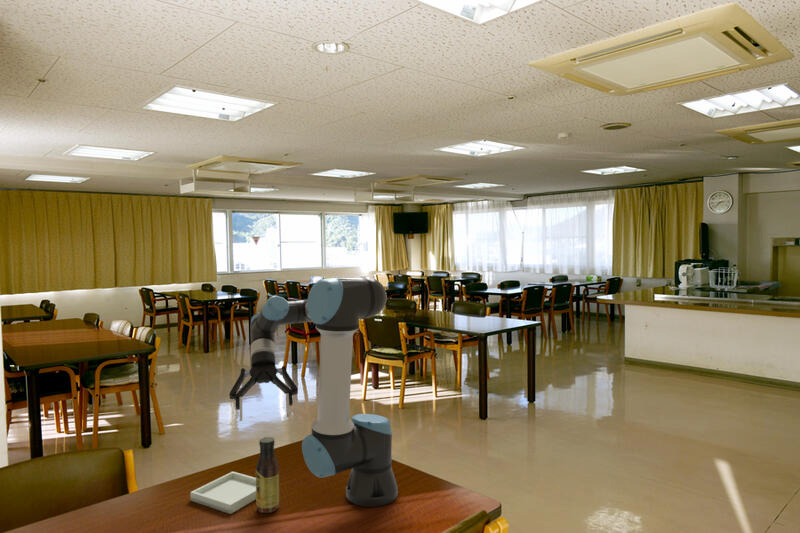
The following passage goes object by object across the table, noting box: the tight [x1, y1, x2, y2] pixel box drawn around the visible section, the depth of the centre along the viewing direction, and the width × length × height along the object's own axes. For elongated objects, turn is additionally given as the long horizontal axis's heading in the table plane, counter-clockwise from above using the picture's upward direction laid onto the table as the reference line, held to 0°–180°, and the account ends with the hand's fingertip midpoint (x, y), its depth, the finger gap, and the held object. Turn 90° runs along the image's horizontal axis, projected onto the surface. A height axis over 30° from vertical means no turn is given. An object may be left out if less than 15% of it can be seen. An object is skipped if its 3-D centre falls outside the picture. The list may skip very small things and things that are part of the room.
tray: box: [190, 471, 256, 515], centre depth 156 cm, size 16×16×2 cm
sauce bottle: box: [255, 436, 280, 514], centre depth 147 cm, size 7×6×20 cm
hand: (264, 417), depth 157 cm, fingers open, 13 cm apart
